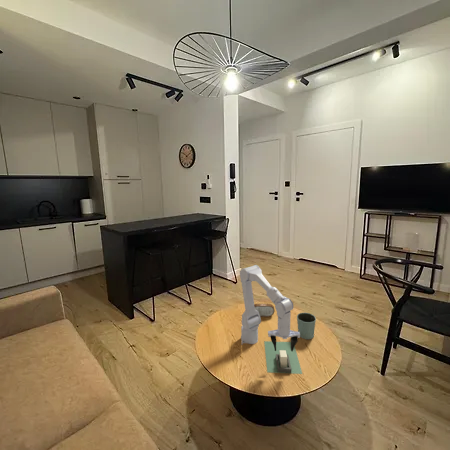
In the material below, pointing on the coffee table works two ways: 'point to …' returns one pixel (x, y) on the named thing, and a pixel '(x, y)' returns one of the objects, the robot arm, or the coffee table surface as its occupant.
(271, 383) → the coffee table surface
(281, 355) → the cream rectangular block
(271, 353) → the board
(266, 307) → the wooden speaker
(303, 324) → the grey-green cup
